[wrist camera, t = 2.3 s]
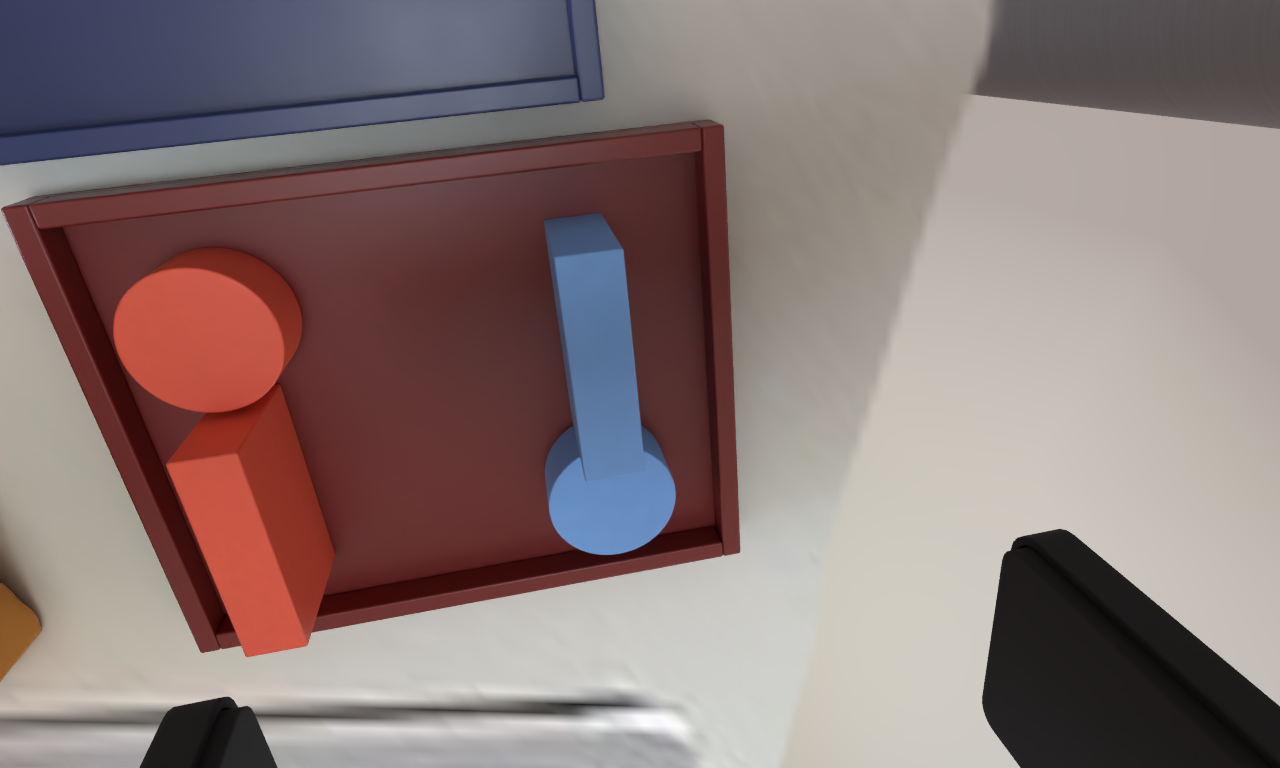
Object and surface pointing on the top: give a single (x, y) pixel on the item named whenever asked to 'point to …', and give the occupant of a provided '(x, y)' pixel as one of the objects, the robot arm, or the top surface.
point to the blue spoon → (600, 401)
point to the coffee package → (14, 629)
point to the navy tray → (275, 67)
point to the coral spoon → (234, 433)
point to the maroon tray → (423, 353)
